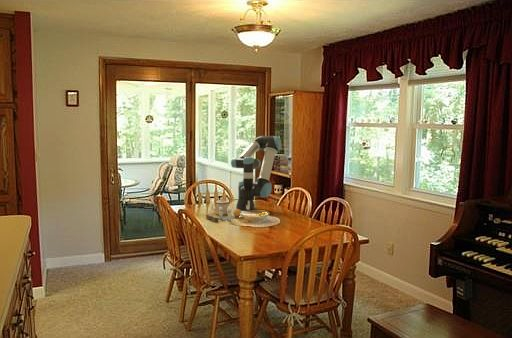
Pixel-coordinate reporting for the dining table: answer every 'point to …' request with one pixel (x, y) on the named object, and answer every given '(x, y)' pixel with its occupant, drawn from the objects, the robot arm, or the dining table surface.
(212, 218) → the back wall
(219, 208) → the pin
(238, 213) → the ball
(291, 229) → the dining table surface
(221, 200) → the teacup with lid
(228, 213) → the pin
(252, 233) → the dining table surface
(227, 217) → the lane mark
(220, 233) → the dining table surface
